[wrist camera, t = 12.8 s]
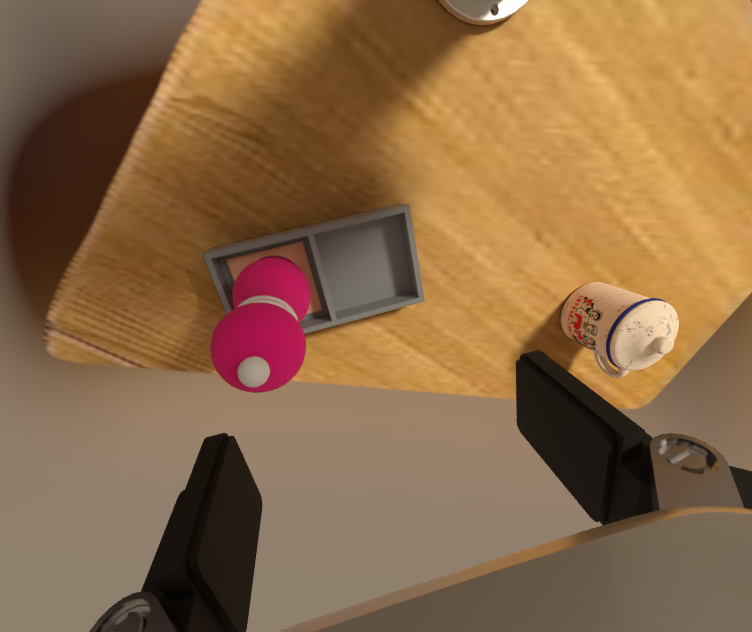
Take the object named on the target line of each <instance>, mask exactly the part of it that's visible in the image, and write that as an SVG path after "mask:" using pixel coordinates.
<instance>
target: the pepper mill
mask: <svg viewBox="0 0 752 632" xmlns="http://www.w3.org/2000/svg"><path fill="white" fill-rule="evenodd" d="M310 299H311V292H310V286H309V283H308V281H307V279H306V277H305V276H304V274H303V273H302V271H301V269H300V268H299V267H298V266H297V265H296V264H295V263H294V262H293V261H291V260H290V259H288V258H285V257H282V256H266V257H263V258H260V259H259V260H257V261H255V262H253V263H251V264H249V265H248V266H246V267H245V268H244V269H243V270H242V271H241V272H240V274H239V275H238V277H237V279H236V281H235V284H234V288H233V304H234V307H235V309H233V310H232V311H230V312H229V313H227V314H226V315H225V316H224V317H223V318H222V319H221V321H220V322H219V323H218V325H217V326H216V328H215V330H214V333H213V336H212V340H211V357H212V361H213V364H214V367H215V369H216V371H217V372H218V373H219V375H220V376H221V377H222V378H223V379H224V380H225V381H226V382H227V383H228V384H230V385H231V386H233V387H235V388H237V389H240V390H243V391H247V392H254V393H257V392H266V391H271V390H274V389H277V388H279V387H281V386H283V385H285V384H286V383H287V382H289V381H290V380H291V379H292V378H293V377H294V376H295V375H296V374H297V372H298V371H299V369H300V368H301V365H302V363H303V360H304V357H305V352H306V341H305V335H304V331H303V329H302V327H301V325H300V322H301V321H302V319H303V318H304V317H305V316H306V313H307V311H308V309H309V305H310Z"/></svg>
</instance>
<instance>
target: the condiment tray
mask: <svg viewBox="0 0 752 632" xmlns="http://www.w3.org/2000/svg"><path fill="white" fill-rule="evenodd" d="M202 255H203V258H204V260H205V262H206V265H207V267H208V270H209V272H210V275H211V277H212V280H213V282H214V285H215V287H216V289H217V292H218V294H219V297H220V299H221V302H222V304H223V307H224V309H225V312H226V314H227V313H229V312H230V311H232V310H233V309H235V307H234V304H233V288H234V284H235V281H236V279H237V277H238V275H239V274H240V272H241V271H242V270H243V269H244V268H245V267H246V266H248V265H249V264H251V263H253V262H255V261H257V260H259V259H260V258H263V257H266V256H282V257H285V258H288V259H290V260H291V261H293V262H294V263H295V264H296V265H297V266H298V267H299V268H300V269H301V271H302V273H303V274H304V276H305V277H306V279H307V281H308V283H309V286H310V292H311V299H310V305H309V309H308V311H307V313H306V316H305V317H304V318H303V319H302V321H301V322H300V325H301V327H302V329H303V331H304V334H306V333H310V332H313V331H317V330H321V329H324V328H328V327H332V326H335V325H339V324H343V323H346V322H350V321H354V320H358V319H361V318H365V317H369V316H372V315H376V314H380V313H383V312H387V311H391V310H394V309H398V308H402V307H405V306H409V305H413V304H416V303H420V302H424V301H425V300H424V294H423V288H422V281H421V275H420V269H419V262H418V256H417V250H416V244H415V237H414V231H413V225H412V219H411V212H410V206H409V205H407V204H402V203H401V204H396V205H392V206H388V207H384V208H380V209H375V210H371V211H367V212H363V213H358V214H354V215H350V216H346V217H342V218H337V219H333V220H329V221H325V222H320V223H316V224H312V225H308V226H304V227H299V228H295V229H291V230H287V231H282V232H278V233H274V234H270V235H265V236H261V237H257V238H253V239H249V240H244V241H240V242H236V243H232V244H227V245H223V246H219V247H215V248H211V249H209V250H207V251H206V252H205V253H203V254H202Z"/></svg>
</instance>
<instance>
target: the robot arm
mask: <svg viewBox="0 0 752 632" xmlns="http://www.w3.org/2000/svg"><path fill="white" fill-rule="evenodd" d="M438 1H439V2H440V3H441V4H442V5H443V6H444V7H445V8H446V9H447V11H448V12H450V13H451V14H452V15H454V16H455V17H457V18H458V19H460V20H462V21H465V22H467V23H470V24H476V25H489V24H495V23H497V22H500V21H503V20H505V19H506V18H508V17H509V16H511V15H512V14H514V13H515V12H517V11H518V10H519V9H520V8H521V7H522V6H524V5H525V4H526V3H527V1H528V0H438ZM490 11H491V12H490ZM491 13H492V14H491ZM516 401H517V425H518V428H519V430H520V432H521V433H522V435H523V436H524V437H525V438H526V440H527V441H528V442H529V443H530V444H531V446H532V447H533V448H534V449H535V451H536V452H537V453H538V454H539V455H540V457H541V458H542V459H543V460H544V461H545V463H546V464H547V465H548V466H549V467H550V469H551V470H552V471H553V472H554V474H555V475H556V476H557V477H558V478H559V480H560V481H561V482H562V483H563V485H564V486H565V487H566V488H567V489H568V491H569V492H570V493H571V494H572V495H573V497H574V498H575V499H576V500H577V501H578V503H579V504H580V505H581V506H582V508H583V509H584V510H585V511H586V512H587V514H588V515H589V516H590V517H591V518H592V519H593V520H594V521H596V522H599V521H600V522H601V524H602V525H603V526H600V527H596V528H593V529H590V530H586V531H583V532H580V533H577V534H573V535H571V536H567V537H564V538H561V539H558V540H554V541H551V542H549V543H545V544H542V545H539V546H536V547H532V548H529V549H526V550H523V551H520V552H517V553H514V554H511V555H507V556H504V557H501V558H498V559H495V560H492V561H489V562H486V563H483V564H479V565H476V566H473V567H470V568H467V569H464V570H461V571H458V572H455V573H451V574H449V575H445V576H442V577H439V578H436V579H433V580H430V581H427V582H424V583H421V584H418V585H415V586H411V587H409V588H405V589H402V590H399V591H396V592H393V593H390V594H387V595H384V596H381V597H378V598H375V599H372V600H369V601H366V602H363V603H360V604H357V605H354V606H351V607H348V608H345V609H342V610H339V611H336V612H333V613H330V614H327V615H324V616H320V617H318V618H315V619H311V620H308V621H306V622H302V623H299V624H297V625H294V626H291V627H288V628H285V629H282V630H279V631H277V632H752V471H748V470H744V469H740V468H736V467H732V466H728V463H727V461H726V460H725V458H724V456H723V455H722V454H721V453H720V452H718V451H717V450H716V449H715V448H714V447H712V446H710V445H709V444H707V443H706V442H703V441H701V440H699V439H696V438H694V437H690V436H687V435H683V434H675V433H666V434H660V435H658V436H655V437H654V438H652V437H651V436H650V435H648V434H647V433H646V432H645V430H644V429H642V428H641V427H640V426H638V425H637V424H636V423H635V422H633V421H632V420H630V419H629V418H628V417H626V416H625V415H624V414H623V413H621V412H620V411H619V410H617V409H616V408H615V407H614V406H612V405H611V404H610V403H608V402H607V401H606V400H604V399H603V398H602V397H600V396H599V395H598V394H597V393H595V392H594V391H593V390H591V389H590V388H589V387H587V386H586V385H585V384H583V383H582V382H581V381H580V380H578V379H577V378H576V377H574V376H573V375H572V374H570V373H569V372H568V371H566V370H565V369H564V368H562V367H561V366H560V365H559V364H557V363H556V362H555V361H553V360H552V359H551V358H549V357H548V356H547V355H545V354H544V353H543V352H541V351H540V350H536V351H533V352H529V353H525V354H522V355H521V356H520V360H517V362H516ZM261 513H262V498H261V495H260V492H259V490H258V488H257V486H256V484H255V481H254V479H253V477H252V475H251V472H250V470H249V468H248V466H247V463H246V461H245V459H244V457H243V455H242V452H241V450H240V448H239V446H238V444H237V441H236V439H235V437H234V436H228V435H227V434H226V433H222V434H218V435H214V436H210V437H207V438H205V439H204V441H203V444H202V446H201V449H200V452H199V454H198V457H197V459H196V462H195V465H194V467H193V470H192V473H191V475H190V478H189V481H188V483H187V486H186V489H185V490H183V491H182V492H181V493H180V495H179V497H178V498H177V501H176V504H175V506H174V508H173V511H172V514H171V516H170V519H169V521H168V524H167V527H166V529H165V531H164V534H163V537H162V539H161V542H160V544H159V547H158V549H157V552H156V554H155V557H154V560H153V562H152V565H151V568H150V570H149V573H148V575H147V578H146V580H145V583H144V585H143V588H142V590H141V592H136V593H133V594H131V595H128V596H127V597H124V598H122V599H121V600H120V601H118V602H117V603H115V604H114V605H113V606H112V607H110V608H109V609H108V610H107V611H106V612H105V613H104V614H103V615H102V616H101V617H100V618H99V619H98V621H97V622H96V623H95V625H94V626H93V627H92V629H91V630H90V631H89V632H246V629H247V622H248V614H249V607H250V599H251V590H252V583H253V576H254V568H255V559H256V552H257V544H258V537H259V529H260V521H261Z"/></svg>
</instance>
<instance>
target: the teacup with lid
mask: <svg viewBox="0 0 752 632" xmlns="http://www.w3.org/2000/svg"><path fill="white" fill-rule="evenodd" d="M561 326H562V329H563V331H564V333H565V334H566V335H567V336H568V337H569V338H571V339H573V340H574V341H576V342H578V343H580V344H581V345H583V346H585V347H587V348H588V349H590V350H592V351H594V356H595V359H596V362H597V364H598V365H599V367H600V368H601V369H602V370H603V371H604V372H605V373H606V374H607V375H609V376H610V377H613V378H621V377H624V376H626V375H627V374H628V372H629V370H640V369H644V368H646V367H649V366H651V365H652V364H654V363H655V362H657V361H658V360H659V359H661V358H662V357H663V356H664V355H665V354H666V353H668V352H670V351H671V350H672V348H673V346H674V340H675V338H676V335H677V332H678V326H679V321H678V316H677V313H676V311H675V310H674V308H673V307H672V306H671V305H670V304H668V303H667V302H666V301H664V300H661V299H656V298H648V297H645V296H642V295H639V294H636V293H633V292H630V291H627V290H624V289H621V288H618V287H615V286H611V285H608V284H605V283H601V282H593V283H589V284H586V285H584V286H582V287H580V288H579V289H577V290H576V291H575V292H574V293H573V294H572V295H571V296H570V297H569V298H568V300H567V301H566V303H565V305H564V307H563V309H562V313H561ZM605 358H606V359H608V360H609V361H610V362H611V363H612V364H613V365H614V366H616V367H618V368H619V370H618V371H616V370H614V369H613V368H612V367H611V366H610V365H609V364H608V362H607V361H606V359H605Z"/></svg>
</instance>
